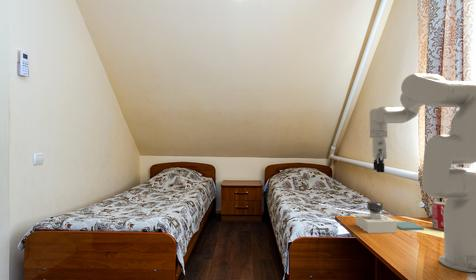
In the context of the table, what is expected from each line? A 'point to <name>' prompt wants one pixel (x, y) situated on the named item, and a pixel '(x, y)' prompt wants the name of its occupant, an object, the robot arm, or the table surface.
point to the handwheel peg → (374, 209)
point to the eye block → (376, 224)
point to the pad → (408, 226)
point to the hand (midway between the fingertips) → (378, 170)
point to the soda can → (438, 215)
